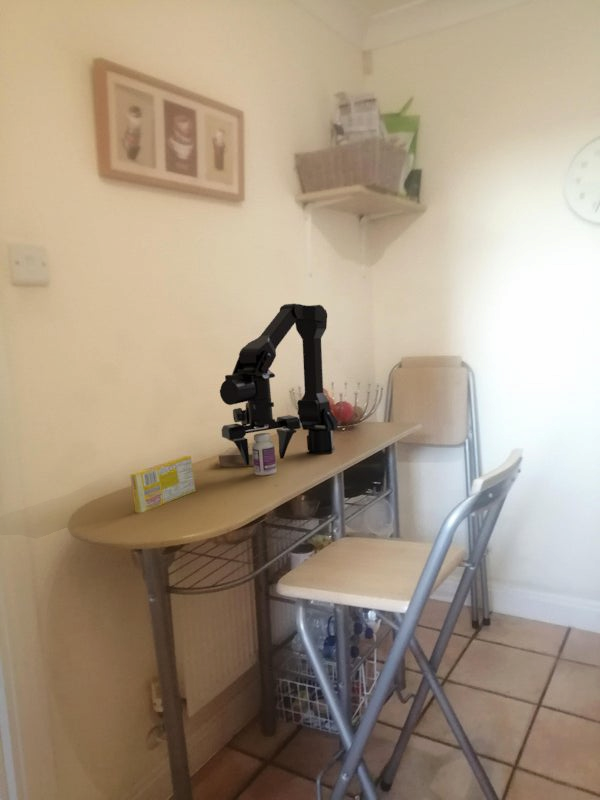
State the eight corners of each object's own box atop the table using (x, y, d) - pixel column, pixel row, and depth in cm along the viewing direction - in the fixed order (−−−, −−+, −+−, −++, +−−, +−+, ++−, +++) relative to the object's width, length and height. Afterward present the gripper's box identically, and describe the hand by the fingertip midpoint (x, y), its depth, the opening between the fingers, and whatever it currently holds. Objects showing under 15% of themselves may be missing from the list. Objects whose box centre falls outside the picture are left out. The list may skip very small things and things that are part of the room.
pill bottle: (277, 469, 152) (274, 431, 151) (274, 475, 147) (271, 435, 146) (256, 470, 153) (253, 432, 152) (252, 476, 148) (249, 437, 146)
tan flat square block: (262, 457, 167) (261, 446, 167) (252, 465, 158) (251, 454, 158) (230, 458, 169) (229, 447, 169) (219, 466, 160) (218, 455, 160)
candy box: (189, 491, 139) (185, 455, 138) (196, 491, 138) (192, 455, 137) (134, 512, 126) (129, 473, 125) (141, 513, 125) (136, 474, 124)
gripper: (279, 391, 159) (284, 450, 161) (211, 400, 150) (217, 463, 153) (299, 394, 149) (304, 457, 151) (227, 404, 141) (233, 471, 143)
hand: (264, 461), depth 150 cm, fingers open, 9 cm apart
